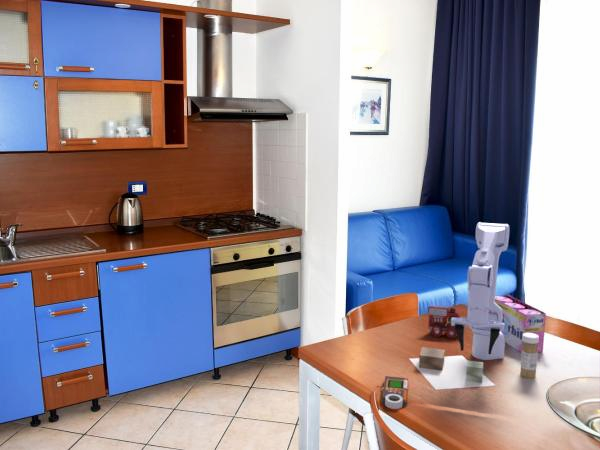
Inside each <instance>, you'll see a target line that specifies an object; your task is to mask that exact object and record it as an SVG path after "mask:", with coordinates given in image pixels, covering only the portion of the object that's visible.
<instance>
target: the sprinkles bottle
mask: <svg viewBox="0 0 600 450" xmlns="http://www.w3.org/2000/svg"><path fill="white" fill-rule="evenodd" d="M538 342H539V336H538V335H537V334H534V333H524V334H523V335H522V353H521V352H520V353H521V354H520V371H519V372H520V374H519V375H520V376H521V378H525V379H534V378H537V377H536V376H537V375H536V373H537V366H538V355H539V354H538V353H539V352H537V349H538Z"/></svg>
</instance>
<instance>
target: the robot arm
mask: <svg viewBox="0 0 600 450" xmlns="http://www.w3.org/2000/svg"><path fill="white" fill-rule="evenodd" d="M509 239H510V225H509V224H508V223H491V222H490V223H489V222H481V221H479V222H477V224H476V227H475V240H476V241H475V242H476V245H477V248H478V250H476V252H475V254H474V258H473V260H472V265H471V266H469V267H468V269H467V274H466V275H467V277H466V279H467V291H468V301H467V302H468V303H467V317H460V318H456V317H455V318H454V317H452V319H451V326H455V332H456V334H457V336H456V337H457V338H458V342H459V347H460V351H464V348H465V343H464V342H465V338H464V335H465V334H464V333H465V327H469V328H470V329H471V331H472V334H473V335H472V350H471V355H472V357H474V358H475V359H478V360H481V361H491V360H496V359H497V360H498V359H504V358H505V348H506V345H505V344H506V342H505V338H504V335H503V333H502V332H501V331H504V323H502V320H503V316H502V313H503V311H502V309H501V307H500V306H498V305H497V304H496V303H495V296H496V290H497V279H498V270H499V259H500V256H501V253H502V252H506V251H507V250H508V248H509ZM489 311H495V312H497V313H492V312H489Z"/></svg>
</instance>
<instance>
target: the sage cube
mask: <svg viewBox="0 0 600 450" xmlns="http://www.w3.org/2000/svg"><path fill="white" fill-rule="evenodd" d="M466 360H467V371H466V381H471V382H478V383H482V377H483V375H484V372H483V371H484V362H483V361H475V360H468V359H466Z"/></svg>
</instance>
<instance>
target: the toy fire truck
mask: <svg viewBox="0 0 600 450" xmlns="http://www.w3.org/2000/svg"><path fill="white" fill-rule="evenodd" d="M427 313H428V326H427V327H428V329H429V330H430V333H431V336H433V337H435V338H439V337H442V335H443V333H444V332H445V335H446V337H447V338H448V339H451V338H453V339H455V338H457V337H458V336H457V334H456V332H455V326H451V319H452V317H454V318H461V316H460V314H459V312H456V308H455V307H450V308H448V307H447V306H445V307H444V306H433V305H429V306H428V308H427Z"/></svg>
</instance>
